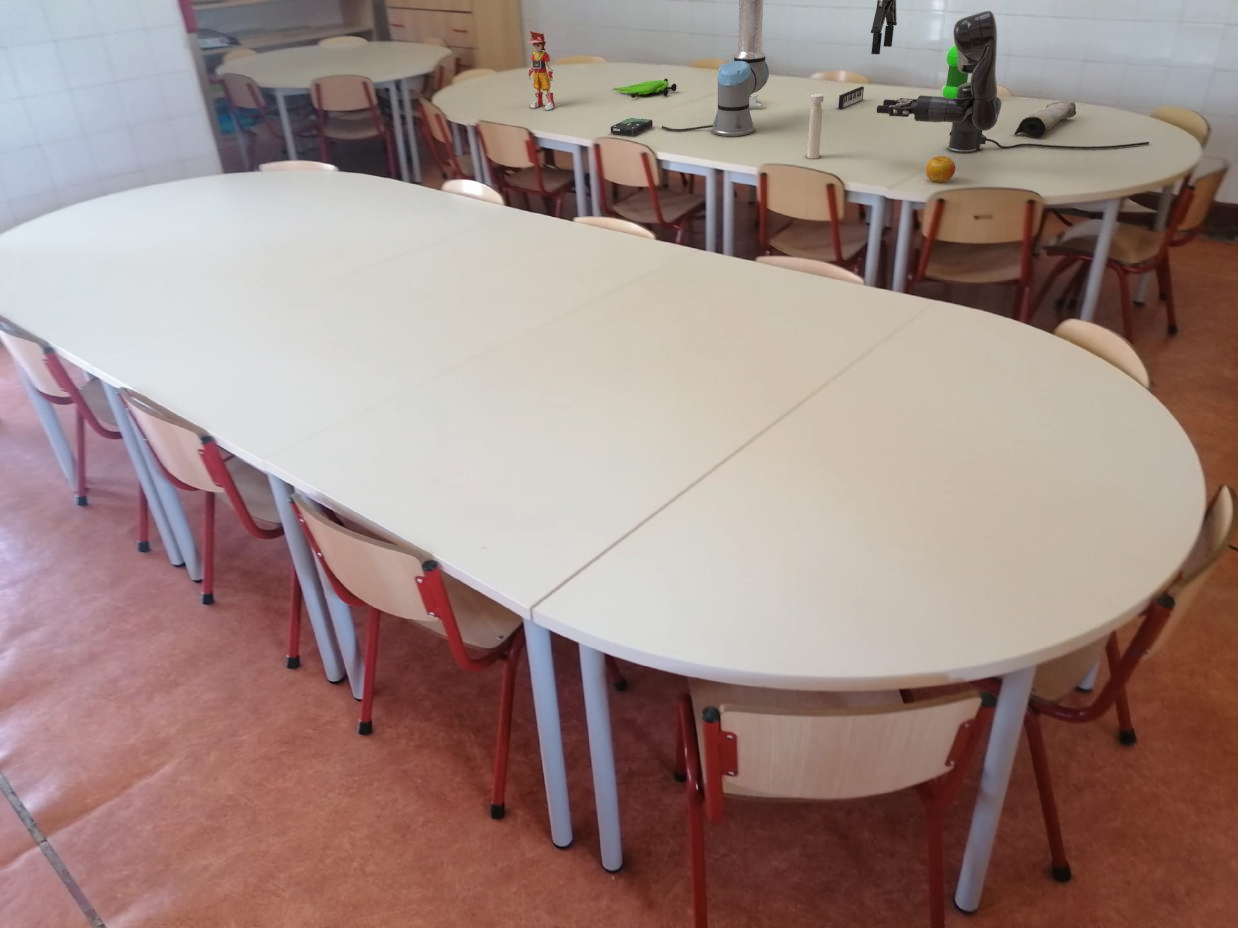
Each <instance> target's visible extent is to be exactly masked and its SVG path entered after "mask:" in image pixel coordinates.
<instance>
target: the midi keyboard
mask: <svg viewBox="0 0 1238 928" xmlns="http://www.w3.org/2000/svg"><path fill="white" fill-rule="evenodd" d="M864 91H865V86H862V85H861V86H859V87H857V88H854V89H851V90H849V91H846V92H844V93H842V94H839V96H838V105H837V106H838V107H837V109H839V110H842V109H844V108H846V107H848V106H851V105H852V104H855V103H858V102H859V101H863V100H864Z"/></svg>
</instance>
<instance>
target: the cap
mask: <svg viewBox="0 0 1238 928" xmlns="http://www.w3.org/2000/svg"><path fill="white" fill-rule="evenodd" d="M824 98H825V97H824V94H823V93H814V94H813V93H812V94H811V95H810V103H812V104H813V103H821V104H822V103H824Z"/></svg>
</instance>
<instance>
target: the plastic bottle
mask: <svg viewBox="0 0 1238 928" xmlns="http://www.w3.org/2000/svg"><path fill="white" fill-rule="evenodd" d="M957 58H958V54H957V48H956V45H955V44H954V45H953V46H952V47H951V48H950V49H949V50H948V52H947V54H946V63H947V64H948V69H947V70H948V71H947V76H946V77H947V78H946V84H945V85H944V87H943V90H942V97H946V98H956V96H957V90H958V87H959V86H960V85H962V84H965V83H968V79H969V73H961V72H960V71H959V70H958V66H957Z"/></svg>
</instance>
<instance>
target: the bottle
mask: <svg viewBox="0 0 1238 928" xmlns="http://www.w3.org/2000/svg"><path fill="white" fill-rule="evenodd" d="M823 111H824V110H823V106H822V103H812V104H811V107H810V110H809V118H808V119H809V121H808V136H807V152H806V158H807V159H811V160H812V159H813V160H814V159H818V158H820V153H821V152H820V151H821V141H822V140H821V138H822V126H823V115H824V114H823V113H824V112H823Z"/></svg>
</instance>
